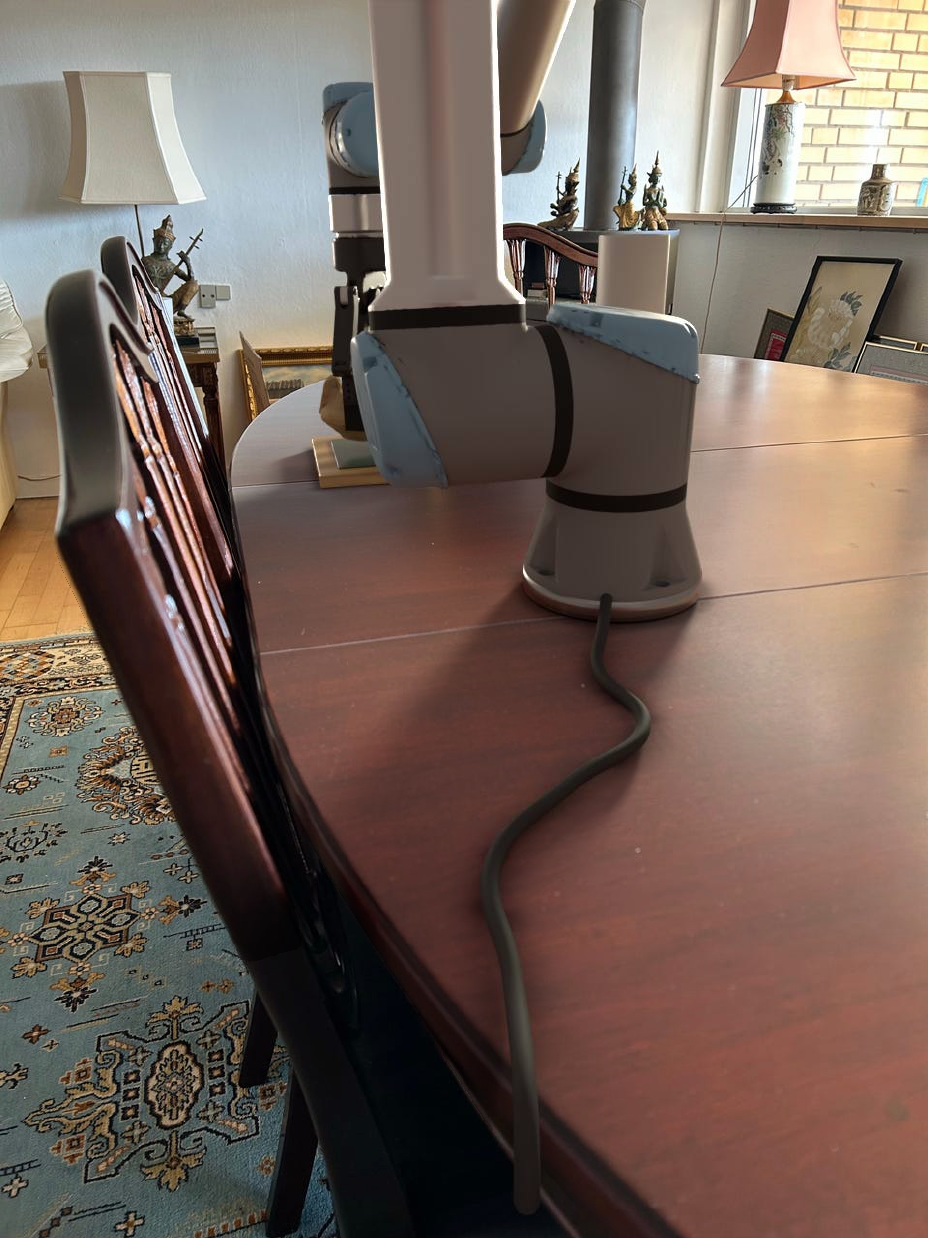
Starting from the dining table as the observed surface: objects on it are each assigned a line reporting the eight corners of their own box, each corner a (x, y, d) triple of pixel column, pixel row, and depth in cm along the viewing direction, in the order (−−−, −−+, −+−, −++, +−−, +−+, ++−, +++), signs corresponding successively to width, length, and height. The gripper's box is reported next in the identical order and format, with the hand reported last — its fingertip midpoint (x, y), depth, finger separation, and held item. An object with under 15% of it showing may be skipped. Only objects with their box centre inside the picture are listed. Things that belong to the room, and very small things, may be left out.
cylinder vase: (582, 375, 173) (587, 235, 163) (640, 370, 177) (649, 233, 166) (611, 386, 162) (618, 237, 152) (672, 381, 166) (683, 234, 155)
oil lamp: (430, 448, 111) (427, 383, 107) (311, 449, 112) (305, 385, 108) (438, 427, 121) (436, 367, 117) (329, 428, 122) (324, 368, 118)
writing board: (451, 478, 110) (451, 465, 109) (320, 488, 107) (319, 474, 106) (425, 440, 128) (424, 429, 127) (312, 448, 125) (311, 436, 124)
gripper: (352, 238, 95) (366, 443, 104) (426, 231, 115) (432, 403, 124) (288, 239, 97) (307, 439, 106) (372, 232, 117) (382, 401, 126)
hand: (375, 420), depth 115 cm, fingers closed on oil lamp, 11 cm apart
